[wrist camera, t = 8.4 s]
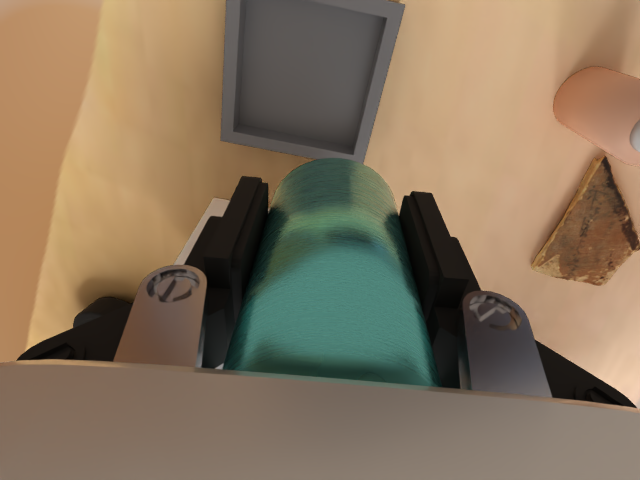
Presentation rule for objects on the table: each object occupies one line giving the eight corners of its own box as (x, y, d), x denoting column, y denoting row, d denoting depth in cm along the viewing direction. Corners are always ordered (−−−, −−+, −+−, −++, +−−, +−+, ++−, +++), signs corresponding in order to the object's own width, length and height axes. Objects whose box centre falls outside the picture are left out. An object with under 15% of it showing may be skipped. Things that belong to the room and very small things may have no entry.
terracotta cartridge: (630, 73, 25) (728, 102, 19) (595, 132, 27) (671, 176, 21) (573, 60, 25) (652, 86, 18) (542, 121, 27) (603, 162, 21)
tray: (399, 3, 23) (405, 4, 21) (360, 155, 29) (361, 168, 27) (238, -34, 23) (227, -36, 21) (229, 129, 28) (220, 140, 26)
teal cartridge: (384, 270, 13) (424, 527, 7) (270, 260, 13) (210, 510, 7) (408, 163, 11) (498, 404, 5) (271, 151, 11) (183, 379, 5)
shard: (593, 149, 28) (607, 158, 27) (687, 168, 29) (706, 178, 27) (523, 262, 34) (532, 274, 33) (602, 276, 35) (614, 289, 33)
